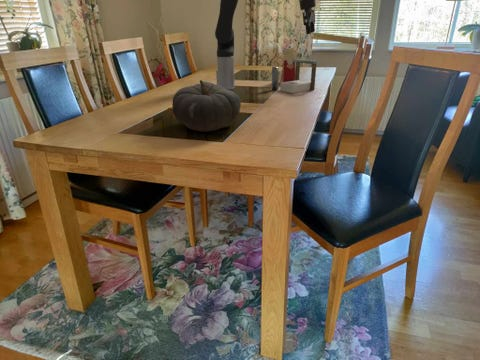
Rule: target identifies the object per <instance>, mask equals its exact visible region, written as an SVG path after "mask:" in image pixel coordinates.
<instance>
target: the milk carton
mask: <svg viewBox="0 0 480 360" xmlns="http://www.w3.org/2000/svg"><path fill="white" fill-rule="evenodd" d="M294 49H295V47H292V48H288V49H283V50H281V52H282V54H283V59H282V67H281V68H282V69H281V75H280V83H279V84H281V83H283V82H289V81H295V71H296V62H293V59H295V55H294Z"/></svg>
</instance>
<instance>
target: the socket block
mask: <svg viewBox="0 0 480 360" xmlns="http://www.w3.org/2000/svg"><path fill="white" fill-rule="evenodd" d="M310 85H311V81H306V80H300V79H299V80H295V81H289V82H283V83H280V91H282V92H285V93H291V94H297V93H301V92H307V91H311V90H310Z"/></svg>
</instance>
